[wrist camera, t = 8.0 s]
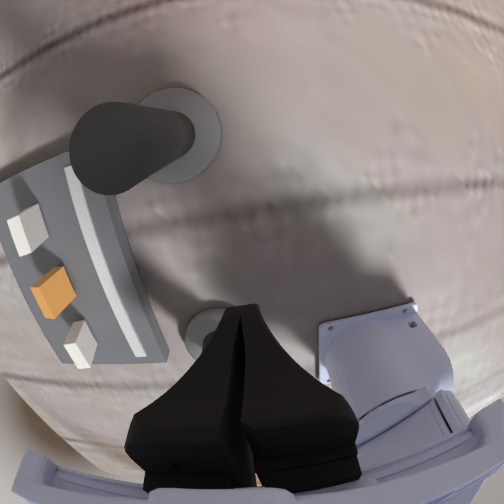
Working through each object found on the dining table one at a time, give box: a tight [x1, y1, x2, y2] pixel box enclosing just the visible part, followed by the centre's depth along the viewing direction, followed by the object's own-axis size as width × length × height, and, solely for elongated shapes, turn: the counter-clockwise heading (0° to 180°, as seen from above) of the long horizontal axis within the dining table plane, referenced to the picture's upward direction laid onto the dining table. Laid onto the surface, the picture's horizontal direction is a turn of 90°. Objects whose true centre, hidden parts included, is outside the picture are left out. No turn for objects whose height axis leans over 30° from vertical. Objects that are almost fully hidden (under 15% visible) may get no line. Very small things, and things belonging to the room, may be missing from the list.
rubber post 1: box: [69, 88, 222, 195], centre depth 12 cm, size 6×6×10 cm
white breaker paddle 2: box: [63, 320, 97, 369], centre depth 20 cm, size 1×3×3 cm, turn 8°
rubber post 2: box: [185, 307, 226, 360], centre depth 19 cm, size 6×6×10 cm
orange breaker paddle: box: [30, 266, 76, 319], centre depth 17 cm, size 1×3×3 cm, turn 8°
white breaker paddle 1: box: [7, 204, 49, 257], centre depth 15 cm, size 1×3×3 cm, turn 8°
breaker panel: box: [0, 151, 169, 364], centre depth 20 cm, size 12×18×2 cm, turn 9°
